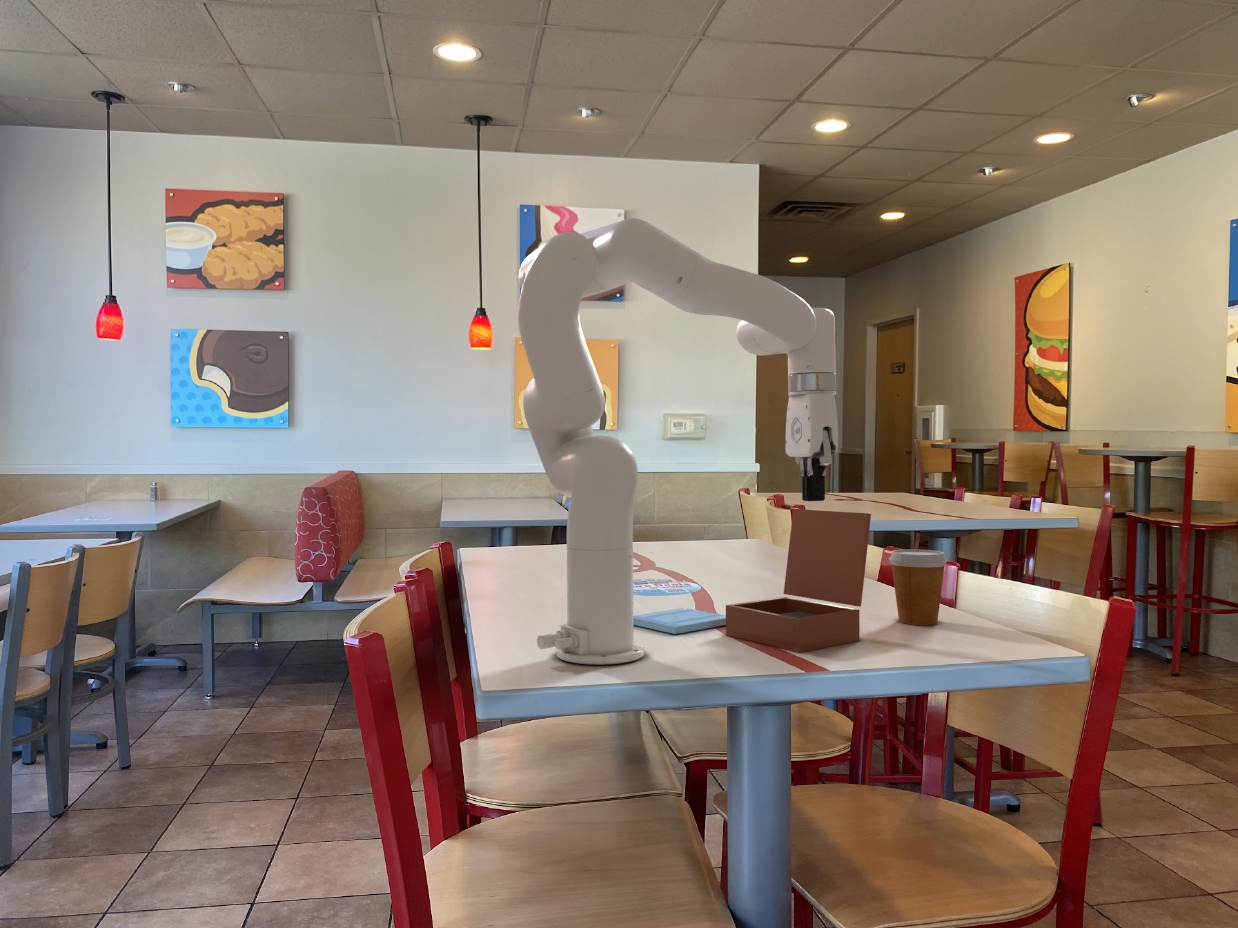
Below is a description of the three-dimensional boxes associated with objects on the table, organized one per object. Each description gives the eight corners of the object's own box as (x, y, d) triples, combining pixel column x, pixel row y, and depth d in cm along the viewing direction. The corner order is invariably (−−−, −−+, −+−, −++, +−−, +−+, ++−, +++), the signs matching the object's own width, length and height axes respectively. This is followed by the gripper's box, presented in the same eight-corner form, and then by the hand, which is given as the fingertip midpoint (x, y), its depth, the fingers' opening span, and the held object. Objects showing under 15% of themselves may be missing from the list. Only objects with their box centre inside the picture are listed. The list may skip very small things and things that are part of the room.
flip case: (799, 652, 125) (799, 619, 125) (725, 634, 138) (725, 605, 138) (859, 640, 133) (859, 609, 133) (785, 625, 146) (784, 596, 146)
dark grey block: (786, 638, 131) (786, 621, 131) (762, 633, 135) (762, 616, 135) (821, 631, 136) (821, 615, 136) (798, 627, 140) (797, 611, 140)
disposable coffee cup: (918, 615, 154) (918, 548, 154) (959, 624, 146) (959, 553, 146) (877, 619, 150) (876, 550, 150) (917, 629, 142) (917, 556, 142)
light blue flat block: (684, 614, 156) (684, 607, 156) (732, 623, 147) (732, 616, 147) (627, 623, 148) (626, 616, 148) (675, 634, 138) (675, 626, 138)
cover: (868, 513, 134) (871, 513, 135) (793, 508, 147) (796, 509, 147) (857, 606, 133) (861, 606, 133) (783, 593, 146) (786, 594, 146)
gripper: (771, 390, 145) (772, 499, 145) (811, 382, 130) (813, 503, 130) (812, 390, 146) (813, 498, 147) (856, 382, 132) (858, 502, 132)
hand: (813, 500), depth 138 cm, fingers closed
